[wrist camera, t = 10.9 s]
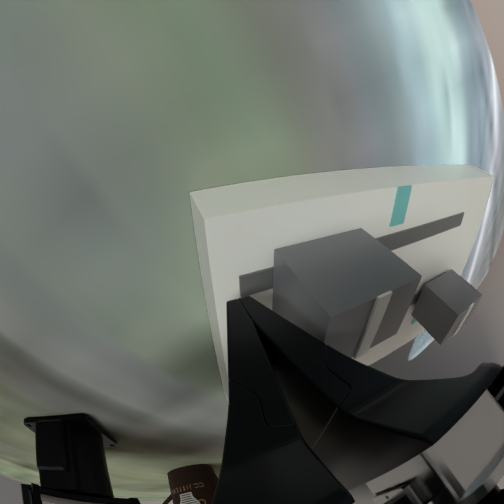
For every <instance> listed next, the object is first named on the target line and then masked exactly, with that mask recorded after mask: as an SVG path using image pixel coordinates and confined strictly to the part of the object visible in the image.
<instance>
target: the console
mask: <svg viewBox="0 0 504 504" xmlns="http://www.w3.org/2000/svg"><path fill="white" fill-rule="evenodd" d="M493 180H494V176H492V175H491V174H489V173H487V172H485V171H483V170H481V169H479V168H477V167H475V166H473V165H415V166H394V167H377V168H364V169H351V170H340V171H330V172H321V173H312V174H303V175H295V176H287V177H279V178H272V179H265V180H258V181H252V182H245V183H239V184H233V185H227V186H221V187H215V188H210V189H204V190H199V191H194V192H189V193H190V201H191V209H192V216H193V224H194V231H195V238H196V245H197V251H198V258H199V264H200V270H201V277H202V283H203V289H204V294H205V300H206V306H207V311H208V317H209V322H210V327H211V332H212V338H213V343H214V348H215V352H216V357H217V362H218V367H219V372H220V376H221V381H222V385H223V390H224V394H225V397H226V400H227V402H228V405H229V389H228V382H229V381H228V354H227V310H226V303H227V301H230V300H233V299H238V298H240V297H244V296H251V297H252V298H254V299H255V300H257V301H258V302H260V303H261V304H263V305H265V306H266V307H268V308H269V309H271V310H272V300H273V271H274V249H277V248H282V247H286V246H290V245H294V244H298V243H302V242H306V241H310V240H314V239H318V238H322V237H326V236H330V235H335V234H339V233H343V232H347V231H351V230H355V229H359V228H362V229H363V230H365V231H366V232H367V233H369V234H370V235H371V236H373V237H374V238H375V239H377V240H378V241H379V242H380V243H382V244H383V245H384V246H386V247H387V248H388V249H389V250H391V251H392V252H393V253H394V254H396V255H397V256H398V257H399V258H401V259H402V260H403V261H404V262H406V263H407V264H408V265H409V266H411V267H412V268H413V269H414V270H415V271H417V272H418V273H419V274H420V275H421V276H422V277H421V280H420V282H419V285H418V287H417V290H416V292H415V295H414V297H413V299H412V302H411V304H410V306H409V308H408V311H407V313H406V315H405V317H404V319H403V321H402V323H401V326H400V328H399V330H398V332H397V334H395V335H393V336H392V337H390V338H388V339H386V340H385V341H383V342H381V343H379V344H377V345H375V346H374V347H372V348H370V349H369V350H368V352H367V353H366V354H364V355H363V356H361V357H359V358H357V359H354V358H353V357H352V359H354V360H356V361H358V362H360V363H363V364H365V365H367V366H369V365H371V364H372V363H374V362H376V361H378V360H379V359H381V358H383V357H385V356H386V355H388V354H390V353H391V352H393V351H394V350H396V349H398V348H399V347H401V346H403V345H404V344H406V343H407V342H409V341H410V340H412V339H414V338H415V337H417V336H418V335H420V334H421V333H423V332H424V331H425V330H426V329H425V328H424V327H423V326H422V325H421V324H420V323H419V322H418V321H417V320H416V319H415V318H414V317H413V316H412V315H411V314H412V312H413V309H414V307H415V305H416V303H417V301H418V298H419V296H420V294H421V292H422V289H423V287H424V284H426V283H428V282H430V281H432V280H434V279H435V278H437V277H439V276H441V275H442V274H444V273H446V272H448V271H449V270H451V269H452V270H454V271H455V272H456V273H457V274H458V275H460V276H461V274H462V272H463V269H464V267H465V265H466V262H467V260H468V257H469V255H470V252H471V250H472V247H473V245H474V242H475V239H476V237H477V234H478V231H479V228H480V225H481V222H482V219H483V216H484V213H485V210H486V206H487V203H488V199H489V196H490V192H491V188H492V184H493Z"/></svg>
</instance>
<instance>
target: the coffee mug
mask: <svg viewBox="0 0 504 504" xmlns="http://www.w3.org/2000/svg"><path fill="white" fill-rule="evenodd" d="M168 479H169V485H170V490H171V495H170V496H169V497H168V498H167V499H166V500H165V501H164V503H163V504H168V503H169V502H170V501H171V500H172V499H173V504H211V503H212V500H213V496H214V493H215V489H216V486H217V482H218V477H217V476H216V474H215V472H214V470H213V468H212V467H211V465H208V464H199V465H191V466H185V467H181V468H177V469H174V470H172V471H170V472H168Z"/></svg>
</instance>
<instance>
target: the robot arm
mask: <svg viewBox="0 0 504 504" xmlns="http://www.w3.org/2000/svg"><path fill="white" fill-rule="evenodd" d="M226 310H227V354H228V381H229V382H228V389H229V407H228V419H227V427H226V435H225V444H224V452H223V459H222V465H221V470H220V475H219V479H218V482H217V486H216V489H215V493H214V496H213V500H212V503H211V504H352V503H354V502H355V500H354V499H353V497H352V495H351V494H350V493H349V492H348V491H349V490H351V489H354V488H356V487H358V486H360V485H362V484H365V483H366V484H367V485H368V487H369V488H370V490H371V491H372V493H373V494H374V497H373V498H372V500H373V501H374V503H375V504H428V503H429V502H430V501H431V503H432V504H504V489H502V490H501V489H499V487H498V486H497V483H498V482H499V480H500V479H501V477H502V476H503V475H504V366H503V367H502V366H500V365H499V364H496V363H484V362H483V363H481V364H480V365H479V366H478V367H477V369H476V370H475V371H474V372H472V373H471V374H469V375H466V376H463V377H457V378H446V379H432V380H403V379H399V378H395V377H393V376H390V375H388V374H386V373H383V372H381V371H378V370H376V369H374V368H371V367H369V366H367V365H365V364H363V363H360V362H358V361H356V360H354V359H352V358H350V357H348V356H346V355H344V354H343V353H341V352H339V351H337V350H336V349H334V348H332V347H331V346H329V345H326V344H325V343H324V342H322V341H320V340H319V339H317V338H316V337H314V336H312V335H311V334H309V333H307V332H306V331H304V330H303V329H301V328H299V327H298V326H296V325H295V324H293V323H291V322H290V321H288V320H287V319H285V318H283V317H282V316H280V315H279V314H277V313H276V312H274V311H272V310H271V309H269V308H268V307H266V306H265V305H263V304H261V303H260V302H258V301H257V300H255V299H254V298H252V297H251V296H244V297H240V298H238V299H233V300H230V301H227V303H226ZM24 425H25V426H26V427H28V428H29V429H30V430H32V431H33V432H34V433H35V438H36V461H37V468H38V469H39V476H40V484H41V486H39V485H37V484H33V483H31V485H25V484H21V492H22V500H23V504H42V501H46V502H50V503H55V504H140V502H139V500H138V498H129V499H124V498H114V495H113V491H112V487H111V482H110V478H109V473H108V468H107V462H106V457H105V451H104V448H111V447H116V446H117V441H116V440H114V439H113V438H112V437H111V436H109V435H108V434H107V433H106V432H104V431H103V430H102V429H101V428H100V427H98V426H97V425H96V424H95V423H94V422H93V421H91V420H90V419H89V418H88V417H87V416H85V415H71V416H60V417H47V418H26V419H24Z"/></svg>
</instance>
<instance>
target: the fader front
mask: <svg viewBox="0 0 504 504" xmlns="http://www.w3.org/2000/svg"><path fill="white" fill-rule="evenodd" d="M421 277H422V276H421V275H420V274H419V273H418V272H417V271H415V270H414V269H413V268H412V267H411V266H409V265H408V264H407V263H406V262H404V261H403V260H402V259H401V258H399V257H398V256H397V255H396V254H394V253H393V252H392V251H391V250H389V249H388V248H387V247H386V246H384V245H383V244H382V243H380V242H379V241H378V240H377V239H375V238H374V237H373V236H371V235H370V234H369V233H367V232H366V231H365V230H363V229H362V228H359V229H355V230H351V231H347V232H343V233H339V234H335V235H330V236H326V237H322V238H318V239H314V240H310V241H306V242H302V243H298V244H294V245H290V246H286V247H282V248H277V249H274V271H273V300H272V311H274V312H276V313H277V314H279V315H280V316H282V317H283V318H285V319H287V320H288V321H290V322H291V323H293V324H295V325H296V326H298V327H299V328H301V329H303V330H304V331H306V332H307V333H309V334H311V335H312V336H314V337H316V338H317V339H319V340H320V341H322V342H324V343H325V344H326V345H329V346H331V347H332V348H334V349H336V350H337V351H339V352H341V353H343V354H344V355H346V356H348V357H350V358H352V357H353V358H354V359H357V358H359V357H361V356H363V355H364V354H366V353H367V352H368V350H369V349H370V348H372V347H374V346H375V345H377V344H379V343H381V342H383V341H385V340H386V339H388V338H390V337H392V336H393V335H395V334H397V332H398V330H399V328H400V326H401V323H402V321H403V319H404V317H405V315H406V313H407V311H408V308H409V306H410V304H411V302H412V299H413V297H414V295H415V292H416V290H417V287H418V285H419V282H420V280H421Z"/></svg>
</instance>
